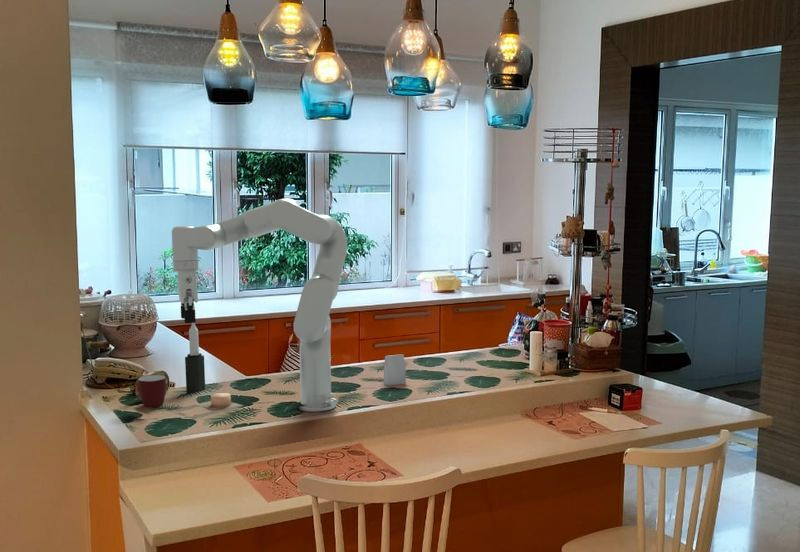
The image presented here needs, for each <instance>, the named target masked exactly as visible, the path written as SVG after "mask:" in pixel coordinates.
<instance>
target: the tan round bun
mask: <svg viewBox="0 0 800 552" xmlns="http://www.w3.org/2000/svg"><path fill="white" fill-rule="evenodd" d="M231 396H232V395H231V393H228V392H219V393H218V392H217V393H214V394H212V395H210V401H211V406H212V407H218V408H219V407H227V406H230V405H231V402H232V397H231Z"/></svg>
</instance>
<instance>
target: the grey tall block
mask: <svg viewBox="0 0 800 552" xmlns="http://www.w3.org/2000/svg"><path fill="white" fill-rule="evenodd" d="M405 362H406V361H405V355H404V353H403V354H393V355H391V354H390V355H385V356H384V363H383V384H385V386H393V385H394V386H395V385H405V384H407V381H406V380H407V379H406V377H407V375H406V373H407V372H406V370H407V369H406V363H405Z"/></svg>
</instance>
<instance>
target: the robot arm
mask: <svg viewBox="0 0 800 552" xmlns="http://www.w3.org/2000/svg"><path fill="white" fill-rule="evenodd" d="M280 230H283V231H285V232H287V233H289V234H292V235H293V236H295V237H297V238H300V239H302V240H303V241H306V242H308V243H310V244H312V245H313V244H314V245H319V250H318V254H317V256H316V260H315V261H316V262H315V265H314V268H313V271H312V274H311V277H310V278H309V279H308V280H307V281H306V282H305V284H304V285H303V288H302V291H301V295H300V298H299V301H298V306H297V310H296V313H295V316H294V321H293V331H294V335H295V336H296V338H298V339H299V381H300V382H299V383H300V385H299V386H300V388H299V389H300V404H301V405H300V406H299V405H298V406H296V407H295V408H296V409H297V410H299V411H301V412H302V411H303V412H311V413H313V412H314V413H315V412H318V413H319V412H325V411H326V412H327V411H329V410H332V409H335V408H336V406H337V404H338V403H339V399H338V398H334V392H332V380H331V379H332V378H331V377H332V376H331V375H332V373H331V370H332V369H331V368H332V367H331V334H332V333H331V332H332V320H331V317H330V312H331V309H332V306H333V302H334V300H335V298H336V297H337V295H338V291H339V286H340V282H341V278H342V273H343V269H344V265H345V261H346V257H347V251H348V242H347V241H348V240H347V235H346V232H345V231H344V228H343V227H342V225H341V224H340V223H339V222H338V221H337V220H336V219H335V218H333V217H332V216H330V215H326V214H317V213H315V212H312V211H310V210H308V209H306V208H303V206H300V204H299V203H298V202H297V201H296V200H295V199H293V198H279V199H276V200H275V201H273V202H271V203H267V204H264V205H262V206H258V207H254V208H251V209H248V210H246V211H244V212H241V214H240V215H238V216H235V217H232V218H229V219H227V220H226V219H225V220H222V221H220V222H216V223H212V224H207V225H201V226H193V225H178V226H174V227H173V228H172V229H171V243H172V244H171V246H172V247H171V248H172V268H173V272H177V288H178V289H177V290H178V291H177V292H178V299H179V301H180V318H181V319H184V323H185V324H192V323H196V322H197V321H196V309H195V303H198V302H199V295H198V283H197V274H196V271H199V253H198V250H200V251H201V250H202V251H210V250H214V249H217V248H218V249H219V248H221V247H224V246H227V245H230V244H234V243H236V242H237V243H238V242H240V241H244V240H247V239H253V238H258V237H260V236H264V235H266V234H269V233H274V232H276V231H280Z"/></svg>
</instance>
